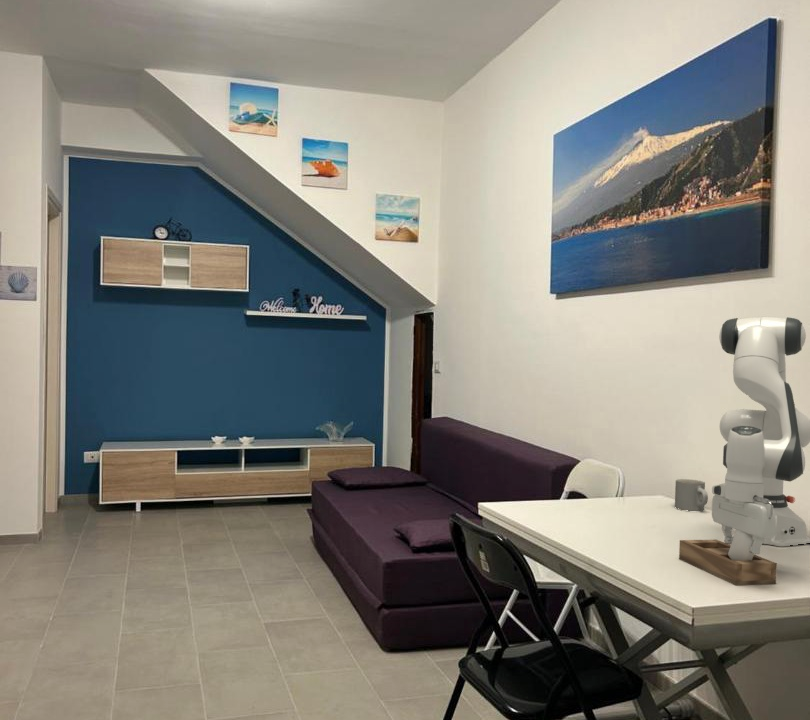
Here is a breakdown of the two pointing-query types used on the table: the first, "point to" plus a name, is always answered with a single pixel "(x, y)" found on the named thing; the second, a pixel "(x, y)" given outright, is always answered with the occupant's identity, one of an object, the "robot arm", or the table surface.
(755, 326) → the robot arm
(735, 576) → the walnut slot rail
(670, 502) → the table surface
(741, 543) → the eye dropper bottle
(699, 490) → the coffee mug
